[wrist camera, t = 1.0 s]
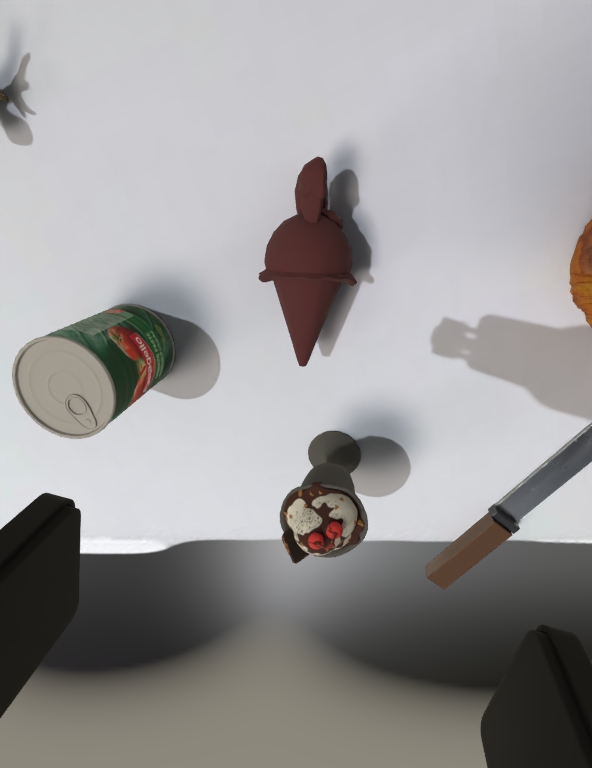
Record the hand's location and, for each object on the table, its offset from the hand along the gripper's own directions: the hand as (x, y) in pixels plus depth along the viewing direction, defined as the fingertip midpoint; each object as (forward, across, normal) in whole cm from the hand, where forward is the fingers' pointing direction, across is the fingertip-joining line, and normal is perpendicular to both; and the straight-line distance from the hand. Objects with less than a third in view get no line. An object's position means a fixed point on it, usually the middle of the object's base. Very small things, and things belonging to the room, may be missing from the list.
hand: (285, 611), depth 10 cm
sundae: (+32, -2, +14) cm, 35 cm away
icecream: (+32, +4, -3) cm, 32 cm away
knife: (+32, -20, +13) cm, 40 cm away
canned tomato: (+32, +18, +8) cm, 38 cm away
